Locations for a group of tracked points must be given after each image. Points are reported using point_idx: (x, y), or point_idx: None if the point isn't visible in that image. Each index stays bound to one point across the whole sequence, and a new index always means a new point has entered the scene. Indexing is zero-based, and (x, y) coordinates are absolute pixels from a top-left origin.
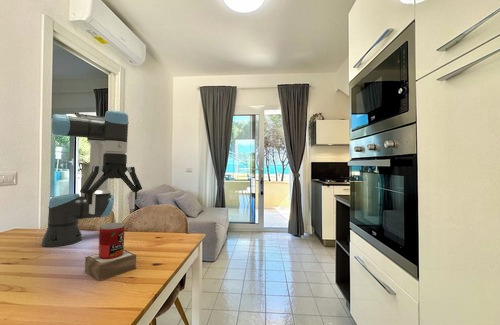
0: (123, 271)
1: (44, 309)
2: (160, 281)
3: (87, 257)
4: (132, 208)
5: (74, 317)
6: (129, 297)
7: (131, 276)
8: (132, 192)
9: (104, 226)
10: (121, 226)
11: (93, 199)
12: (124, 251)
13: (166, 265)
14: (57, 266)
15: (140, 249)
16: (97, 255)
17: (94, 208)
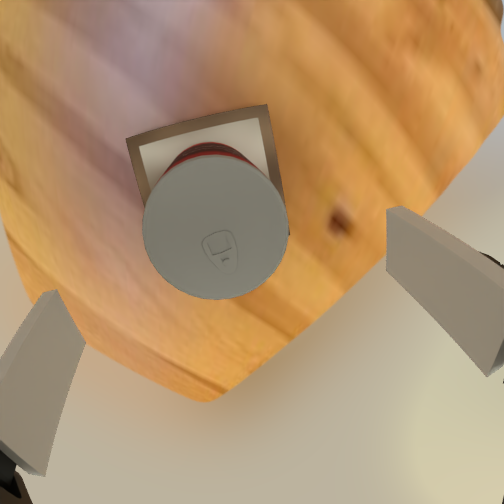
0: None
1: (75, 310)
2: (294, 330)
3: (131, 148)
4: (389, 273)
5: (128, 362)
6: (217, 356)
7: None
8: (490, 363)
9: (170, 217)
10: (257, 283)
11: (42, 438)
12: (266, 171)
13: (352, 252)
14: (75, 39)
15: (352, 42)
16: (164, 153)
17: (71, 373)
